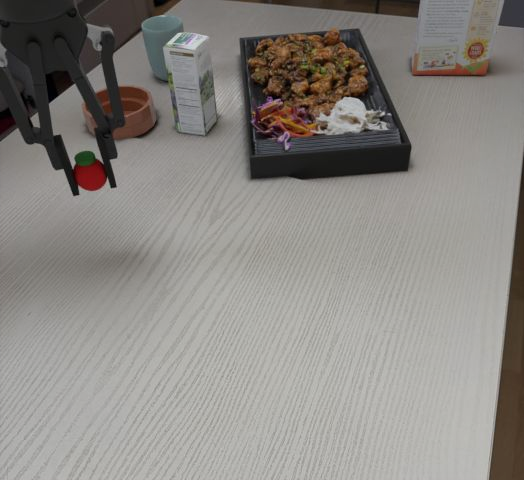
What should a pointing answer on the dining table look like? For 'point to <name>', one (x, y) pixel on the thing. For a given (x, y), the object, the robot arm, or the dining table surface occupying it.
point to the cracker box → (455, 36)
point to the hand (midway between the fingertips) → (94, 185)
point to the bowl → (127, 111)
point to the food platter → (318, 107)
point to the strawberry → (89, 171)
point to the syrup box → (191, 82)
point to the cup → (159, 40)
